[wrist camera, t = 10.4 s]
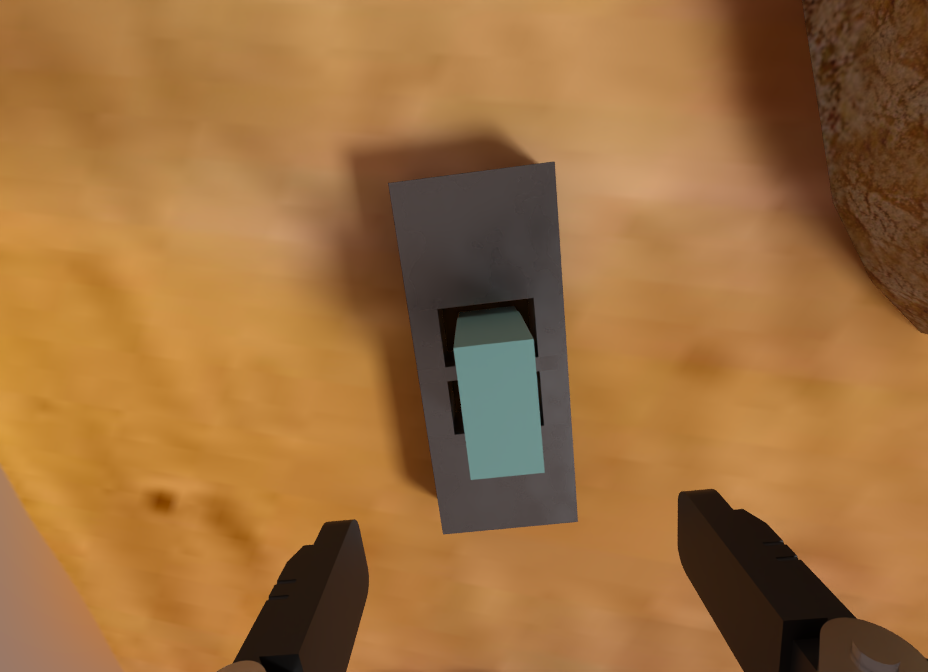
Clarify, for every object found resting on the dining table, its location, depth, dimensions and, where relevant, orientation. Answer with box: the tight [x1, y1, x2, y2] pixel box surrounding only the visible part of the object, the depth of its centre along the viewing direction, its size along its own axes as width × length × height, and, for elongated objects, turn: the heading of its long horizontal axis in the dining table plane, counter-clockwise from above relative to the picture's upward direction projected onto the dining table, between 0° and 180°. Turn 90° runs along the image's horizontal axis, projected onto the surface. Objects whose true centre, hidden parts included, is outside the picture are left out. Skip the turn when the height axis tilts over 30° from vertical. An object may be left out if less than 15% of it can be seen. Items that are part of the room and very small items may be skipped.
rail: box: [388, 162, 578, 534], centre depth 25 cm, size 20×8×3 cm, turn 7°
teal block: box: [454, 306, 545, 480], centre depth 22 cm, size 6×3×8 cm, turn 7°
